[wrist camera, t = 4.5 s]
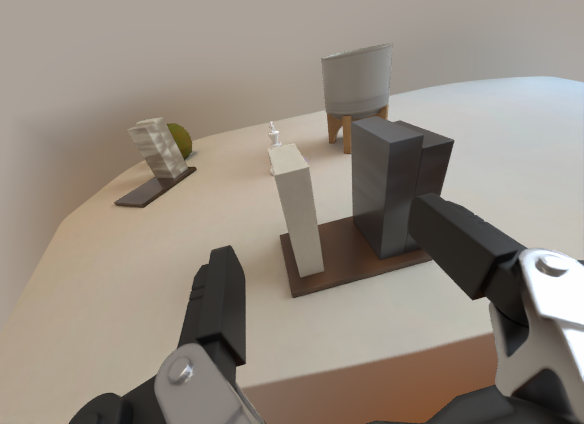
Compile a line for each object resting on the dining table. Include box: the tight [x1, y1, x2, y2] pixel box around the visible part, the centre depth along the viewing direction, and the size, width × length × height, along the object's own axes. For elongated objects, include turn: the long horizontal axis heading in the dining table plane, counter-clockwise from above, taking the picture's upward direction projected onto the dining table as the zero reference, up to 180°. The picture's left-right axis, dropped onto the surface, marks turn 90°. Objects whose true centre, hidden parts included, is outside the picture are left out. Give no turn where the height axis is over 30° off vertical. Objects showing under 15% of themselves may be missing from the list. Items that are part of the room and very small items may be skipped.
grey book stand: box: [280, 116, 454, 298], centre depth 22 cm, size 15×9×13 cm, turn 100°
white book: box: [268, 143, 324, 277], centre depth 22 cm, size 3×6×12 cm, turn 10°
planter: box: [321, 43, 393, 154], centre depth 46 cm, size 13×13×18 cm
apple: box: [166, 123, 192, 159], centre depth 64 cm, size 10×10×11 cm
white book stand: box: [114, 118, 197, 207], centre depth 48 cm, size 17×9×13 cm, turn 160°
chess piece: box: [268, 122, 281, 175], centre depth 44 cm, size 5×5×10 cm
